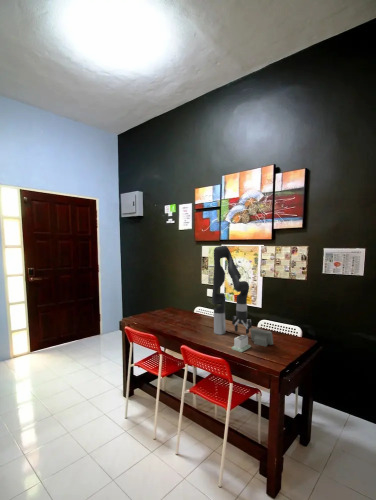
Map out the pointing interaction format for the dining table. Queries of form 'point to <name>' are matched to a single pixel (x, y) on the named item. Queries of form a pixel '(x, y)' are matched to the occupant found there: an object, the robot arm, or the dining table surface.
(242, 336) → the plug housing
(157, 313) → the dining table surface
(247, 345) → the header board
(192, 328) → the dining table surface
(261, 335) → the digital clock
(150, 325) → the dining table surface
